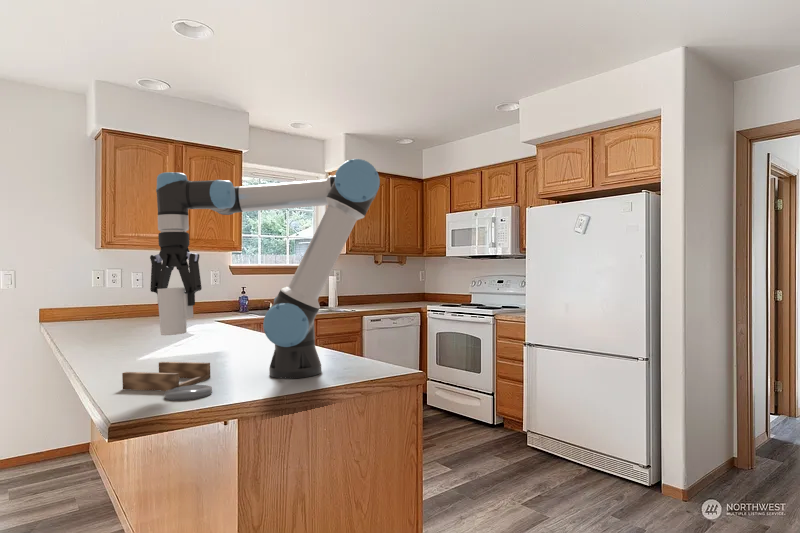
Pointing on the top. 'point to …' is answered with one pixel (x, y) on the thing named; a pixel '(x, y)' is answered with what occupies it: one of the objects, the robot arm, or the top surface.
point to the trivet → (188, 392)
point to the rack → (167, 376)
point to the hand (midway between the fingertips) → (176, 318)
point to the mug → (171, 311)
